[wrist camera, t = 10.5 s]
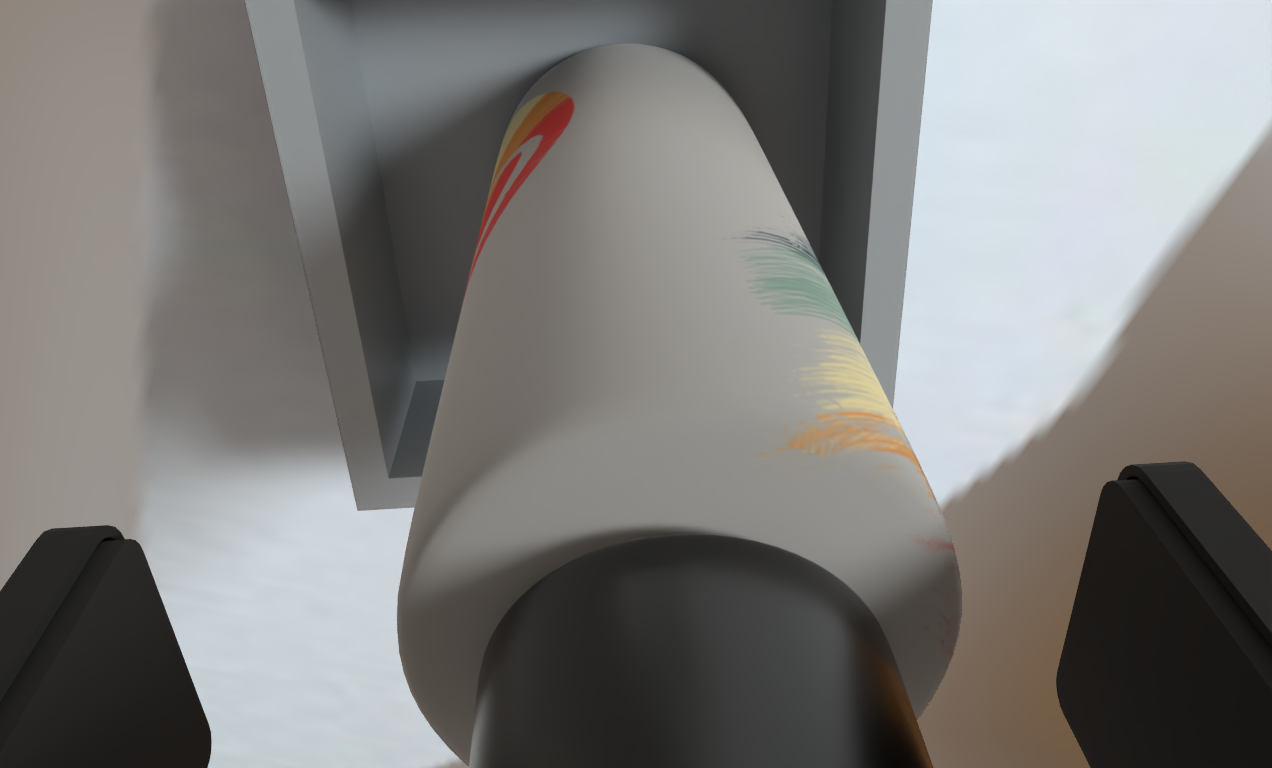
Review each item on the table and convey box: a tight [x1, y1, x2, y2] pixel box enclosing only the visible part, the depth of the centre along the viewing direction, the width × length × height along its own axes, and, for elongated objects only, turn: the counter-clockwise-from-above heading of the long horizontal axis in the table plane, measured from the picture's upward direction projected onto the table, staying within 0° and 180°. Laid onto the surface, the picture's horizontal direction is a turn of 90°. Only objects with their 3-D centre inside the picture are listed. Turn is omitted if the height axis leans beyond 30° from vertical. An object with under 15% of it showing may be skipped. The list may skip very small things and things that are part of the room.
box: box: [245, 0, 933, 511], centre depth 22 cm, size 12×12×5 cm
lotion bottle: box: [397, 43, 962, 768], centre depth 14 cm, size 6×6×20 cm
